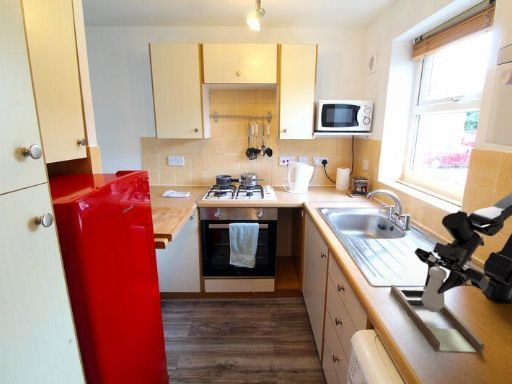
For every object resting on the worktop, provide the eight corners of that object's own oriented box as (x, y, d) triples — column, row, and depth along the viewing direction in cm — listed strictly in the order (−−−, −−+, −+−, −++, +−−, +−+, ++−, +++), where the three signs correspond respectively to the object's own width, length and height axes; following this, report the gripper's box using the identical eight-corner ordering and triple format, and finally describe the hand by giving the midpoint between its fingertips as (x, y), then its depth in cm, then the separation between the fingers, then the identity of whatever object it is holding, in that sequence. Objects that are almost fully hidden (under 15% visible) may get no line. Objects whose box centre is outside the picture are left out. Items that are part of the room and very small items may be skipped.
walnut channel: (425, 292, 96) (426, 285, 96) (482, 352, 71) (484, 344, 71) (390, 291, 97) (391, 285, 96) (434, 351, 72) (436, 342, 71)
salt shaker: (434, 301, 86) (441, 263, 83) (447, 314, 81) (455, 274, 77) (416, 302, 86) (422, 264, 83) (428, 314, 80) (435, 274, 77)
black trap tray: (423, 294, 95) (424, 289, 95) (433, 306, 89) (434, 300, 89) (396, 294, 95) (397, 288, 95) (405, 305, 90) (406, 299, 89)
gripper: (422, 222, 87) (393, 261, 86) (491, 246, 71) (456, 295, 69) (435, 241, 92) (407, 278, 91) (502, 267, 76) (469, 313, 74)
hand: (431, 289), depth 81 cm, fingers closed on salt shaker, 3 cm apart
